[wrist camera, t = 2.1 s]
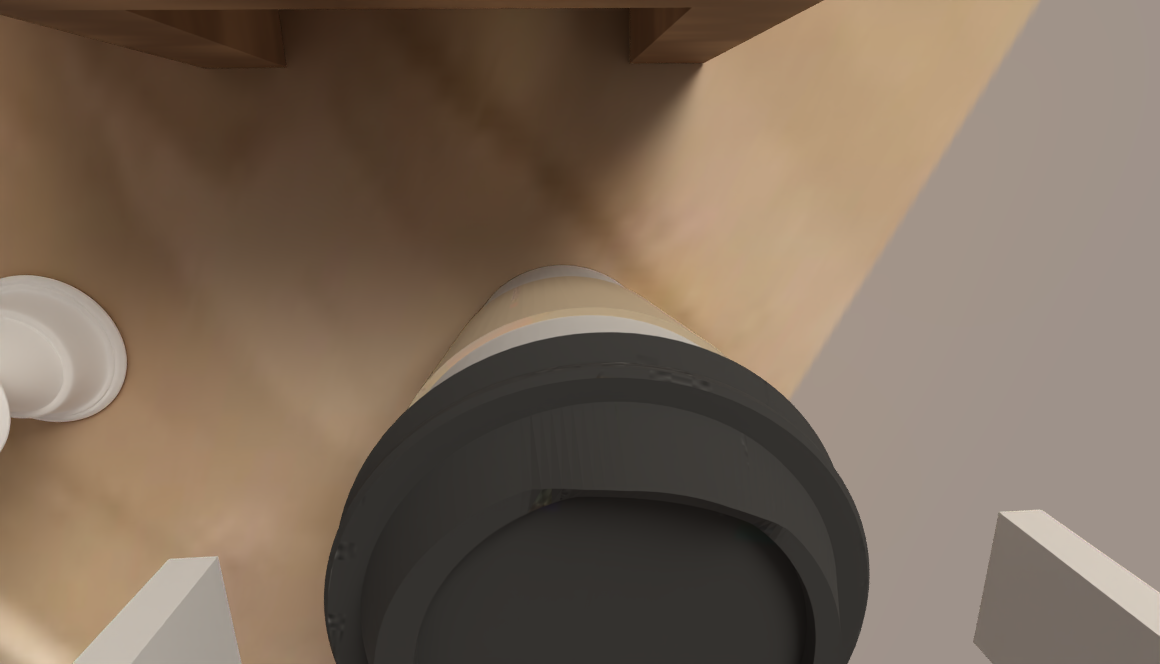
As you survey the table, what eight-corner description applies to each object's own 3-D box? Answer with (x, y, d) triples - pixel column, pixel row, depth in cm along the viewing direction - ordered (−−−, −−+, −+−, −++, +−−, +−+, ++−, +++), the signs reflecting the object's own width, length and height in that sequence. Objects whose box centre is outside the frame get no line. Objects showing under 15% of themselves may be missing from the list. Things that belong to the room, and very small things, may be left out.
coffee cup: (648, 478, 24) (816, 940, 10) (422, 441, 23) (249, 908, 9) (709, 261, 22) (1041, 460, 8) (462, 207, 21) (312, 326, 6)
